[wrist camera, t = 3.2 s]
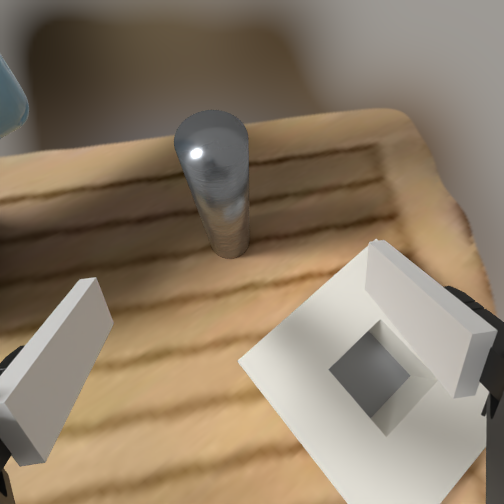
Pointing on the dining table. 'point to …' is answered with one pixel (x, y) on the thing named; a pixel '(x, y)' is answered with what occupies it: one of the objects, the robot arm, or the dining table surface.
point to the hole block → (365, 398)
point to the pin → (218, 177)
